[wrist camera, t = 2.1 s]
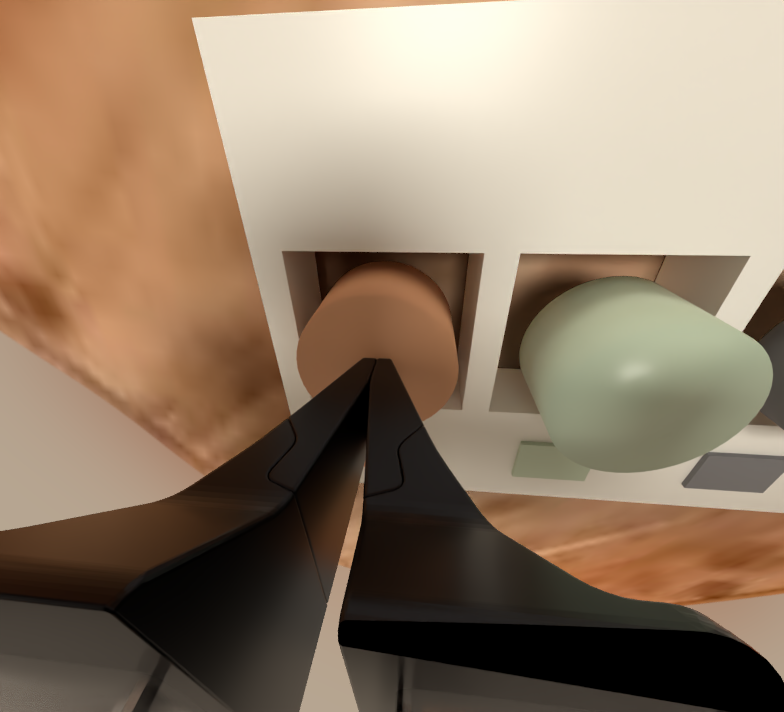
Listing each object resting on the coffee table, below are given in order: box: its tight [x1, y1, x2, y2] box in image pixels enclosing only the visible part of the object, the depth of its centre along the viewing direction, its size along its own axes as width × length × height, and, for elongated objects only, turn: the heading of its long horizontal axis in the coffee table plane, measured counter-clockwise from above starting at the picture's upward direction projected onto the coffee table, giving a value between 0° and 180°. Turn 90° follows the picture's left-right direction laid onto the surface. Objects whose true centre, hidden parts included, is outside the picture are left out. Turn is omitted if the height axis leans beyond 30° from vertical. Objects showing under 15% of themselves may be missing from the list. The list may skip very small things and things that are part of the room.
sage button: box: [519, 276, 773, 473], centre depth 9 cm, size 5×5×3 cm
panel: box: [192, 0, 784, 513], centre depth 12 cm, size 22×16×3 cm
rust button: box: [296, 261, 459, 421], centre depth 11 cm, size 5×5×3 cm
